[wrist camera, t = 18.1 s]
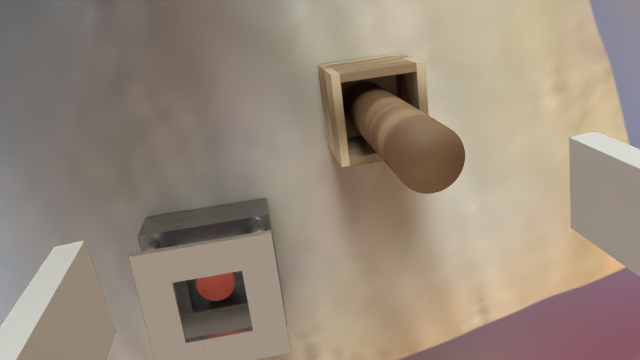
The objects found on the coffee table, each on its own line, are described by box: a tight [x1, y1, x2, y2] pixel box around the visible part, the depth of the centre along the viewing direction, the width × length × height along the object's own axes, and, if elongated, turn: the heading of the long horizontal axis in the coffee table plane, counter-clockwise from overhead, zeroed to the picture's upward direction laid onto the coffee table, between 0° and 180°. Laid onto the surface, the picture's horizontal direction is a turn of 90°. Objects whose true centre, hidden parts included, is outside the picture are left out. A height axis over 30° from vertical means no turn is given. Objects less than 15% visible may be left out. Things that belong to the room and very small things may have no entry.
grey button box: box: [129, 198, 291, 360], centre depth 46 cm, size 10×10×8 cm
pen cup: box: [318, 54, 428, 167], centre depth 44 cm, size 7×7×7 cm
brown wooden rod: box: [343, 81, 465, 193], centre depth 38 cm, size 4×4×18 cm
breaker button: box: [196, 272, 235, 301], centre depth 46 cm, size 3×3×2 cm
